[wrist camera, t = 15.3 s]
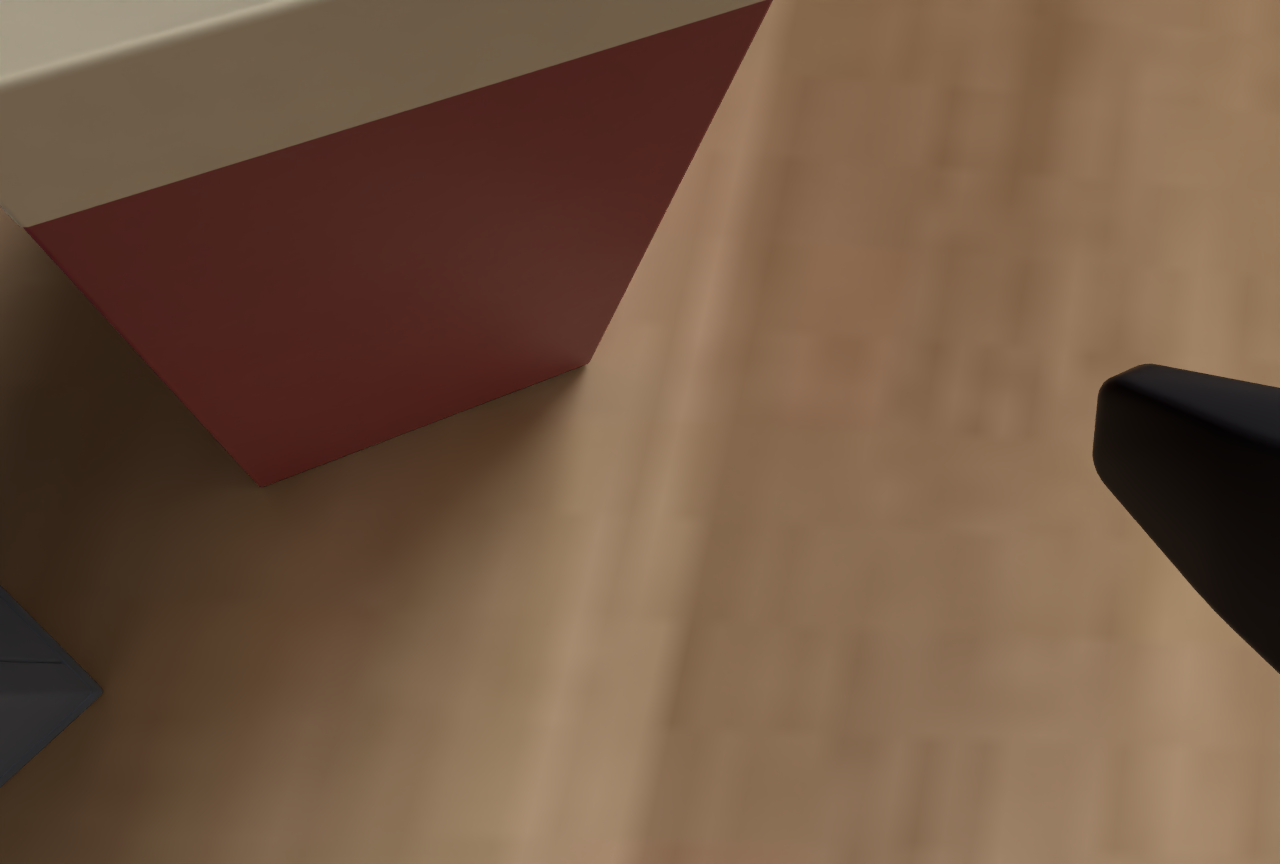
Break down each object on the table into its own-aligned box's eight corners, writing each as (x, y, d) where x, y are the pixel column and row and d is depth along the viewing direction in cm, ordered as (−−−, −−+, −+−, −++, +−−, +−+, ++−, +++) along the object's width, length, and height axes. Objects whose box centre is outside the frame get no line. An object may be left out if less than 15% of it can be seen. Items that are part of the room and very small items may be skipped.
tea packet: (590, 363, 19) (855, -149, 7) (258, 490, 17) (-92, 113, 6) (441, 17, 19) (456, -955, 8) (112, 112, 18) (-457, -891, 6)
